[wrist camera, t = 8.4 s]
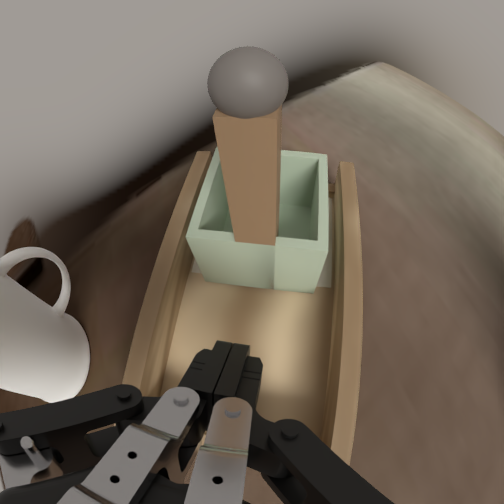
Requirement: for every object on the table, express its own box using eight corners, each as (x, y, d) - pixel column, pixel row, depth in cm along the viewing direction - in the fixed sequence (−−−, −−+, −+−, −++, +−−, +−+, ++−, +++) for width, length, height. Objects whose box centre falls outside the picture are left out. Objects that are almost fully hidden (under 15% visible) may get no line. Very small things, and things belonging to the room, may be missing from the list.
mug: (84, 272, 24) (7, 190, 14) (133, 334, 21) (37, 261, 11) (15, 352, 20) (-75, 304, 10) (53, 422, 17) (-58, 400, 6)
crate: (317, 207, 25) (344, 18, 11) (313, 297, 20) (377, 76, 6) (226, 198, 25) (194, 16, 12) (204, 284, 21) (118, 76, 7)
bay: (343, 199, 27) (353, 163, 22) (331, 456, 16) (348, 468, 12) (206, 187, 28) (197, 151, 24) (144, 425, 17) (113, 427, 13)
